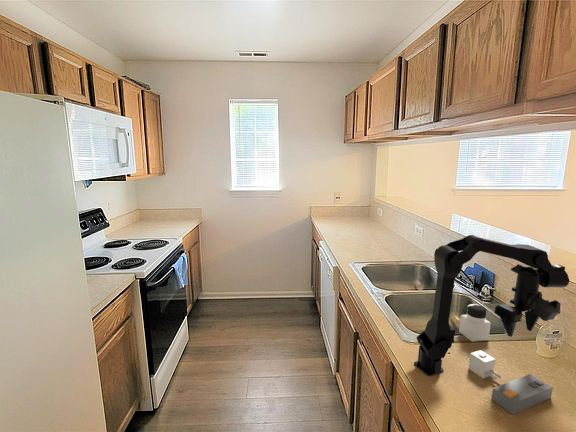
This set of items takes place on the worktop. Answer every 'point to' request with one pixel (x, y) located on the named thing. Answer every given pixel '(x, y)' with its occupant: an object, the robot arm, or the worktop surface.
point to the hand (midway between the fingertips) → (519, 333)
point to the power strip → (521, 393)
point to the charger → (482, 364)
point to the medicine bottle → (475, 324)
